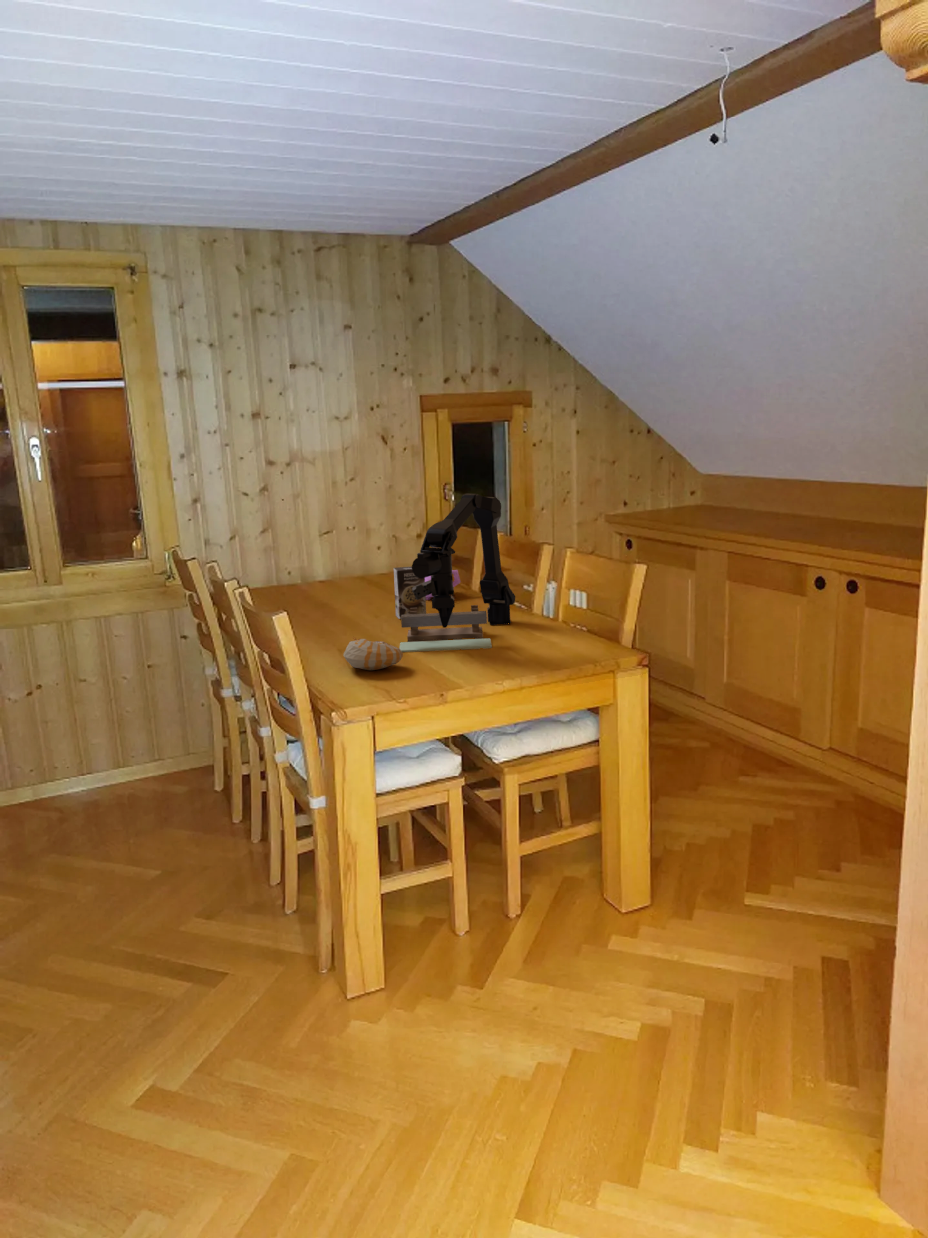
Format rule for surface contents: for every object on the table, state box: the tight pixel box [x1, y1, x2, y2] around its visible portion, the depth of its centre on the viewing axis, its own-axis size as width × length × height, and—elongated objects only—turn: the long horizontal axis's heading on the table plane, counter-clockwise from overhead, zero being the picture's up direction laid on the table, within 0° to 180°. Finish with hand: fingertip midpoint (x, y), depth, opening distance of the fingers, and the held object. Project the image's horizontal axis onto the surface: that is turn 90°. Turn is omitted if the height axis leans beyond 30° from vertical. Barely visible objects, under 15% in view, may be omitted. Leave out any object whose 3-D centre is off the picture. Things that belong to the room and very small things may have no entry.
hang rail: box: [400, 610, 488, 629], centre depth 264 cm, size 24×3×3 cm, turn 91°
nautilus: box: [343, 637, 404, 671], centre depth 248 cm, size 8×22×15 cm
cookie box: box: [393, 566, 427, 620], centre depth 302 cm, size 9×6×16 cm
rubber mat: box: [398, 638, 493, 653], centre depth 266 cm, size 26×9×1 cm, turn 91°
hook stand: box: [406, 604, 484, 642], centre depth 275 cm, size 22×8×8 cm, turn 91°
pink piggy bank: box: [425, 569, 461, 601], centre depth 330 cm, size 18×17×12 cm
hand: (444, 626), depth 264 cm, fingers closed on hang rail, 3 cm apart
